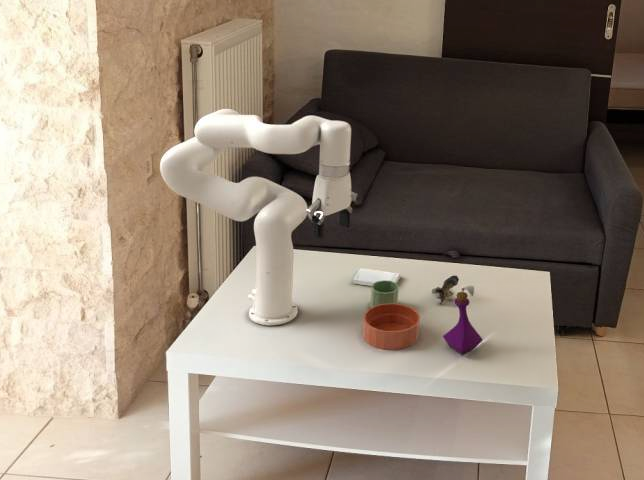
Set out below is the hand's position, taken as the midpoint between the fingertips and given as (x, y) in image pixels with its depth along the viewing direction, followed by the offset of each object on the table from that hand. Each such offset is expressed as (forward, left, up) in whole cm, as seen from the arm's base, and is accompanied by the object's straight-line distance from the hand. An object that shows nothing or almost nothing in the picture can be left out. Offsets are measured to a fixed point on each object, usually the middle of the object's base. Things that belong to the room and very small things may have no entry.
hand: (331, 231), depth 190 cm
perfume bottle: (+35, +13, -26) cm, 46 cm away
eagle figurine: (+16, +32, -26) cm, 45 cm away
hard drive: (-6, +27, -26) cm, 38 cm away
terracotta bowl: (+17, +6, -26) cm, 32 cm away
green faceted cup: (+6, +16, -26) cm, 31 cm away
